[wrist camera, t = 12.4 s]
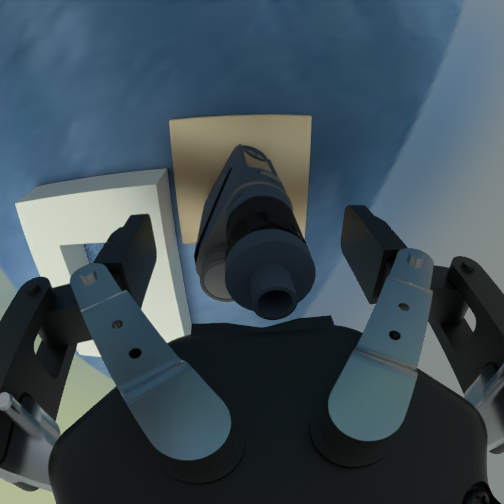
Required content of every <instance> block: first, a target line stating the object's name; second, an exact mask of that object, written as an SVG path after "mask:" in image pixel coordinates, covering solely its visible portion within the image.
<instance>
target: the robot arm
mask: <svg viewBox="0 0 504 504" xmlns="http://www.w3.org/2000/svg"><path fill="white" fill-rule="evenodd" d="M341 249H342V253H343V255H344V256H345V258H346V260H347V262H348V264H349V266H350V267H351V269H352V271H353V273H354V275H355V276H356V279H357V281H358V282H359V284H360V286H361V288H362V290H363V292H364V294H365V296H366V298H367V300H368V302H369V304H376V305H375V307H374V310H373V312H372V314H371V316H370V319H369V321H368V323H367V325H366V328H365V330H364V332H363V333H361V332H359V331H357V330H354V329H351V328H347V327H343V326H336V325H334V323H333V320H332V318H331V315H330V316H321V317H310V318H298V319H294V320H291V321H287V322H284V323H280V324H276V325H273V326H269V327H264V328H260V327H252V326H245V325H237V324H230V323H210V324H192V326H191V334H190V335H185V336H182V337H179V338H177V339H174V340H172V341H170V342H168V343H166V341H165V340H164V339H163V338H162V336H161V335H160V334H159V333H158V331H157V330H156V329H155V327H154V326H153V325H152V323H151V322H150V321H149V320H148V318H147V317H146V316H145V314H144V313H143V312H142V310H141V307H142V304H143V301H144V298H145V294H146V291H147V288H148V285H149V282H150V279H151V276H152V273H153V270H154V267H155V264H156V260H157V249H156V244H155V239H154V234H153V228H152V223H151V218H150V215H149V214H136V215H130V217H129V218H128V220H127V221H126V223H125V225H124V226H123V227H119V228H118V229H117V230H115V231H114V232H113V233H112V234H111V235H110V236H109V238H108V240H107V242H106V243H105V244H104V246H103V248H102V249H101V251H100V252H99V254H98V256H97V257H96V259H95V261H94V262H93V263H92V264H88V265H85V266H83V267H81V268H79V269H78V270H76V271H75V272H74V273H73V274H72V276H71V277H70V283H69V284H66V285H62V286H58V287H54V288H52V286H51V283H50V281H49V279H48V278H46V277H36V278H33V279H31V280H29V281H27V282H26V283H25V284H24V285H23V286H22V287H21V288H20V289H19V291H18V292H17V294H16V296H15V297H14V299H13V300H12V302H11V304H10V305H9V307H8V309H7V310H6V312H5V314H4V316H3V317H2V319H1V321H0V478H2V479H4V480H5V481H7V482H10V483H12V484H14V485H16V486H18V487H19V488H21V489H23V490H26V491H35V490H37V489H39V488H41V489H45V490H48V491H52V492H53V494H54V497H55V500H56V504H501V503H500V502H498V501H497V500H496V498H495V497H494V496H493V494H492V493H491V490H490V488H489V485H488V478H487V463H486V462H487V452H488V451H489V452H491V453H494V454H500V453H503V452H504V294H503V293H502V292H501V290H500V289H499V288H498V287H497V285H496V284H495V283H494V282H493V280H492V279H491V278H490V277H489V276H488V274H487V273H486V272H485V271H484V270H483V268H482V267H481V266H480V265H479V264H478V263H477V262H475V261H473V260H472V259H470V258H467V257H462V256H457V257H455V258H453V260H452V263H451V265H450V268H447V267H441V266H434V263H433V260H432V258H431V257H430V256H429V255H428V254H426V253H425V252H423V251H420V250H418V249H413V248H407V247H406V245H405V244H404V243H403V242H402V240H401V239H400V238H399V237H398V236H397V235H396V234H395V232H394V231H393V230H391V228H390V227H389V226H388V224H387V223H386V222H385V221H383V220H381V219H380V218H378V217H376V216H374V215H373V214H372V213H371V212H370V211H369V209H368V208H367V207H366V206H365V205H348V206H347V207H346V209H345V214H344V221H343V229H342V236H341ZM468 307H470V309H471V310H472V312H473V313H474V315H475V317H476V328H475V330H474V332H472V330H471V328H470V327H469V325H468V323H467V322H466V320H465V319H464V316H465V313H466V312H467V310H468ZM428 322H429V323H430V325H431V327H432V329H433V331H434V333H435V335H436V336H437V338H438V340H439V342H440V344H441V346H442V348H443V350H444V352H445V354H446V356H447V358H448V360H449V362H450V365H451V367H452V368H453V371H454V373H455V375H456V377H457V380H458V381H459V384H460V386H461V388H462V391H463V393H464V398H463V397H461V396H460V395H458V394H457V393H455V392H454V391H452V390H451V389H449V388H447V387H446V386H444V385H443V384H441V383H440V382H438V381H436V380H435V379H433V378H432V377H430V376H429V375H427V374H426V373H424V372H423V371H421V370H420V369H418V368H417V366H418V362H419V358H420V353H421V350H422V346H423V341H424V337H425V332H426V328H427V323H428ZM37 334H39V335H40V337H41V338H42V341H41V343H40V346H39V348H38V351H37V353H36V355H35V352H34V341H35V339H36V336H37ZM90 340H93V341H94V343H95V345H96V347H97V349H98V351H99V353H100V355H101V357H102V359H103V361H104V363H105V365H106V367H107V369H108V371H109V373H110V375H111V377H112V378H113V380H114V382H115V384H116V387H115V388H114V389H112V390H111V391H110V392H109V393H108V394H107V395H106V396H105V397H103V398H102V399H101V400H100V401H99V402H98V403H97V404H96V405H94V406H93V407H92V408H91V409H90V410H89V411H88V412H86V413H85V414H84V415H83V416H82V417H81V418H80V419H78V420H77V421H76V422H75V423H74V424H73V425H72V426H71V427H69V428H68V429H67V430H66V431H65V432H64V433H63V434H62V435H61V436H60V430H59V427H58V425H57V423H56V422H55V421H56V417H57V413H58V409H59V405H60V401H61V397H62V394H63V390H64V386H65V383H66V379H67V376H68V373H69V369H70V366H71V363H72V360H73V357H74V353H75V350H76V347H77V344H78V343H81V342H85V341H90Z"/></svg>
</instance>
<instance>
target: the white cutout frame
mask: <svg viewBox="0 0 504 504" xmlns="http://www.w3.org/2000/svg"><path fill="white" fill-rule="evenodd" d="M15 205H16V209H17V212H18V215H19V219H20V222H21V225H22V228H23V231H24V234H25V237H26V240H27V243H28V245H29V248H30V251H31V253H32V256H33V259H34V261H35V264H36V266H37V269H38V271H39V274H40V276H41V277H46V278H48V279H49V281H50V283H51V286H52V288H54V287H58V286H62V285H66V284H69V283H70V277H71V276H72V274H73V273H74V272H75V271H76V270H78V269H79V268H81V267H83V266H85V265H88V264H90V263H89V260H88V257H87V254H86V251H85V248H84V244H87V243H103V242H107V240H108V238H109V236H110V235H111V234H112V233H113V232H114V231H115V230H117V229H118V228H119V227H123V226H124V225H125V223H126V221H127V220H128V218H129V217H130V215H136V214H149V215H150V218H151V223H152V228H153V234H154V239H155V244H156V249H157V260H156V264H155V267H154V270H153V273H152V276H151V279H150V282H149V285H148V288H147V291H146V294H145V298H144V301H143V304H142V307H141V310H142V312H143V313H144V314H145V316H146V317H147V318H148V320H149V321H150V322H151V323H152V325H153V326H154V327H155V329H156V330H157V331H158V333H159V334H160V335H161V336H162V338H163V339H164V340H165V341H166V343H168V342H170V341H172V340H174V339H177V338H179V337H182V336H185V335H190V334H191V326H192V323H191V318H190V313H189V308H188V303H187V298H186V292H185V287H184V281H183V275H182V270H181V264H180V258H179V251H178V245H177V239H176V232H175V225H174V218H173V211H172V203H171V196H170V188H169V179H168V170H167V168H163V169H153V170H143V171H134V172H125V173H117V174H109V175H102V176H94V177H88V178H81V179H75V180H69V181H63V182H57V183H51V184H46V185H41V186H37V187H36V188H34V189H33V190H32V191H30V192H29V193H28V194H26V195H25V196H24V197H22V198H21V199H20V200H19V201H17V202H16V203H15ZM76 349H77V351H78V352H79V354H80V355H86V356H98V357H101V355H100V353H99V351H98V349H97V347H96V345H95V343H94V341H93V340H90V341H85V342H81V343H78V344H77V347H76Z"/></svg>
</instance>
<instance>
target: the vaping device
mask: <svg viewBox="0 0 504 504" xmlns="http://www.w3.org/2000/svg"><path fill="white" fill-rule="evenodd" d="M298 232H299V233H298ZM300 239H302V240H300ZM305 244H306V242H305V240H304V238H303V235H302V233H301V230H300V228H299V226H298V223H297V221H296V218H295V216H294V214H293V206H292V203H291V200H290V198H289V197H288V195H287V193H286V191H285V189H284V186H283V184H282V182H281V180H280V179H279V178H278V175H277V173H276V171H275V169H274V167H273V165H272V162H271V160H270V159H267V157H266V156H265V154H263V153H262V152H261V151H260V150H258V149H256V148H254V147H251V146H241V144H239V145H238V146H236V147H235V148H234V149H233V151H232V153H231V155H230V156H229V158H228V160H227V162H226V164H225V165H224V167H223V169H222V171H221V173H220V175H219V177H218V178H217V180H216V182H215V184H214V186H213V188H212V190H211V192H210V194H209V196H208V198H207V199H206V201H205V203H204V208H203V212H202V217H201V222H200V228H199V233H198V238H197V243H196V249H195V254H194V258H195V264H196V271H197V274H198V275H199V277H200V284H201V287H202V289H203V291H204V292H205V293H206V294H207V295H208V296H209V297H211V298H213V299H215V300H218V301H223V302H230V301H235V302H236V303H237V304H239V305H240V306H242V307H244V308H246V309H248V310H251V311H254V312H255V313H256V314H257V315H258V316H260V317H261V318H264V319H267V320H278V319H282V318H285V317H287V316H288V315H290V314H291V313H292V312H293V311H294V310H295V308H296V306H297V303H299V302H300V301H301V300H303V298H304V297H305V296H306V295H307V294H308V293H309V291H310V290H311V288H312V286H313V284H314V280H315V266H314V262H313V260H312V257H311V255H310V252H309V250H308V247H307V245H305Z"/></svg>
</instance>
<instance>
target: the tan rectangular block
mask: <svg viewBox="0 0 504 504" xmlns="http://www.w3.org/2000/svg"><path fill="white" fill-rule="evenodd" d="M311 117H312V116H310V115H291V114H248V115H221V116H204V117H191V118H180V119H171V120H169V127H170V139H171V150H172V161H173V171H174V180H175V189H176V197H177V205H178V213H179V221H180V228H181V236H182V243H183V244H190V243H197V238H198V233H199V228H200V222H201V217H202V212H203V208H204V203H205V201H206V199H207V198H208V196H209V194H210V192H211V190H212V188H213V186H214V184H215V182H216V180H217V178H218V177H219V175H220V173H221V171H222V169H223V167H224V165H225V164H226V162H227V160H228V158H229V156H230V155H231V153H232V151H233V149H234V148H235V147H236V146H238V145H239V144H241V146H251V147H254V148H256V149H258V150H260V151H261V152H262V153H263V154H265V156H266V157H267V159H270V160H271V162H272V165H273V167H274V169H275V171H276V173H277V175H278V178H279V179H280V180H281V182H282V184H283V186H284V189H285V191H286V193H287V195H288V197H289V198H290V200H291V203H292V206H293V214H294V216H295V218H296V221H297V223H298V226H299V228H300V230H301V233H302V235H303V238H304V239H305V226H306V213H307V199H308V183H309V165H310V144H311ZM298 233H299V232H298Z"/></svg>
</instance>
